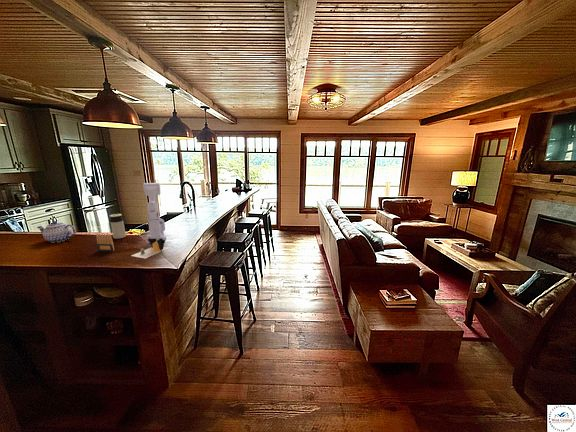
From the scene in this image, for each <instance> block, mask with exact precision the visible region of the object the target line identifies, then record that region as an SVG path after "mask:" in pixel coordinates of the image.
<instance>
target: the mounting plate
mask: <svg viewBox="0 0 576 432" xmlns="http://www.w3.org/2000/svg"><path fill="white" fill-rule="evenodd" d="M167 249H168V247H167V246H164V247H163V250H161V251H153V248H152V246H151V247H148V248H146V249H145V248H140V251H139V252H137V253H134V254H131V257H136V258H140V259H148V258H149V257H151V256H154V255H157V254H159V253H161V252H163V251H165V250H167Z"/></svg>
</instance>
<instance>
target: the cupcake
mask: <svg viewBox="0 0 576 432" xmlns="http://www.w3.org/2000/svg"><path fill="white" fill-rule="evenodd" d="M152 244H153V251H161V250H160V249H159V245H158V243H157V241H156V242H153V243H152ZM162 250H163V249H162ZM163 251H164V250H163ZM161 252H162V251H161Z"/></svg>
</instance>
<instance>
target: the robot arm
mask: <svg viewBox="0 0 576 432" xmlns="http://www.w3.org/2000/svg"><path fill="white" fill-rule="evenodd" d="M142 188H143V192H144V194H145V196H147V197H148V200H149V202H147V212H146V218H147V221H148V231H149V233H147V234H146V239H147V238H148V239H147V241H148V243H149V244H150V246H151V247H152V248H153V244H152V243H153V242H156V241H157V243H158V245H159V249H160V250H162V249H163V247H165V243H166V240H167V236H166V235H165V233H164V232H165V231H166V223H165V220H164V219H163V218H160V217H161V216H160V212H159V211H160V210H159V203H158V196H160V195H161V184H160V182H144V183H143V184H142Z"/></svg>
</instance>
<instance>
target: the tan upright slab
mask: <svg viewBox="0 0 576 432" xmlns="http://www.w3.org/2000/svg"><path fill="white" fill-rule="evenodd" d="M112 237H113V236H112V235H111V234H108V233H107V234H105V233H104V234H102V233H99V234H98V233H96V247H97V251H98V252H111V253H112V252H115V251H116V247H115V243H114V242H113V238H112Z"/></svg>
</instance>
